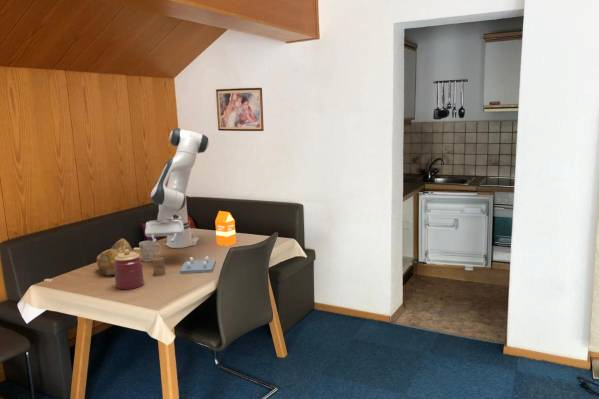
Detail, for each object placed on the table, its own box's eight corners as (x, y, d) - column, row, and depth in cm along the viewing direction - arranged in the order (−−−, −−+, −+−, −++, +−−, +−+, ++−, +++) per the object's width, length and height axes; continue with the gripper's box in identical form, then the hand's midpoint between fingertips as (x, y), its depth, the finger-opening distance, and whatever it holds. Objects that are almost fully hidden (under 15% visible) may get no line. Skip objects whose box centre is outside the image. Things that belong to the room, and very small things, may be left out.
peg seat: (185, 263, 271) (185, 255, 270) (215, 262, 272) (215, 254, 271) (180, 273, 255) (179, 265, 255) (212, 272, 256) (211, 263, 255)
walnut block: (156, 272, 258) (154, 257, 257) (165, 272, 258) (163, 257, 257) (154, 275, 254) (152, 260, 252) (163, 275, 254) (161, 260, 253)
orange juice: (225, 241, 314) (223, 209, 310) (236, 243, 309) (234, 211, 305) (216, 244, 307) (214, 212, 304) (227, 246, 302) (225, 213, 299)
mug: (137, 260, 281) (136, 243, 279) (157, 255, 290) (156, 238, 288) (145, 263, 275) (144, 245, 273) (165, 257, 284) (164, 240, 282)
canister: (144, 287, 237) (140, 251, 234) (114, 291, 234) (110, 254, 231) (144, 279, 250) (140, 244, 246) (116, 282, 246) (112, 247, 243)
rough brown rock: (110, 264, 279) (105, 238, 276) (138, 262, 276) (133, 235, 273) (87, 280, 256) (81, 252, 253) (117, 277, 253) (111, 249, 250)
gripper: (144, 217, 269) (142, 240, 262) (183, 215, 271) (182, 238, 263) (147, 223, 275) (145, 246, 267) (185, 222, 276) (184, 244, 268)
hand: (163, 242), depth 265 cm, fingers open, 8 cm apart
